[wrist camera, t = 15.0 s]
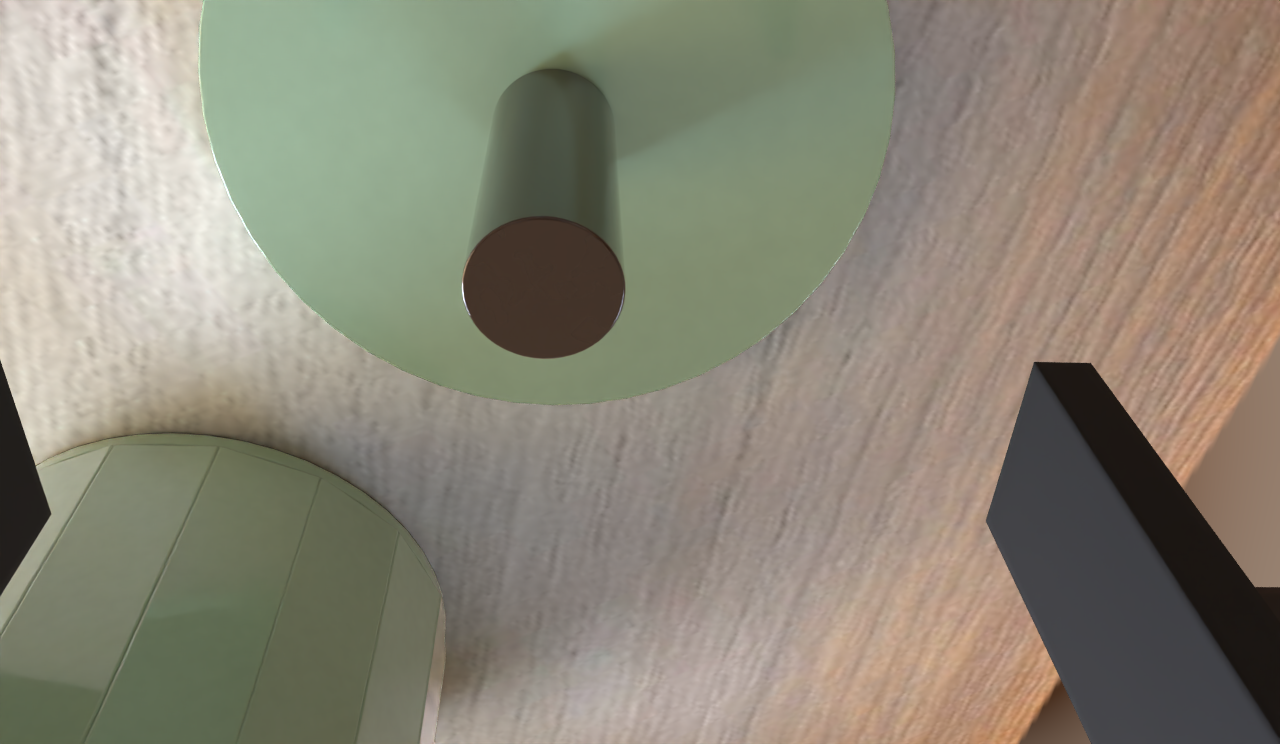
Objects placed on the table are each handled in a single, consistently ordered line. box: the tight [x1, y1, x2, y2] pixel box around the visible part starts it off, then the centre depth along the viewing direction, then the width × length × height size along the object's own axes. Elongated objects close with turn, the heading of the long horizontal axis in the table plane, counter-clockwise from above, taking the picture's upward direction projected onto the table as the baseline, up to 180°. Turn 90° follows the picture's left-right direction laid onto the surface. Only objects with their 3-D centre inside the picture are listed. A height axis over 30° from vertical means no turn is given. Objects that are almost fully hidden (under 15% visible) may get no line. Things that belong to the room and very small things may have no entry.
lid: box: [198, 0, 895, 405], centre depth 20 cm, size 15×15×8 cm
